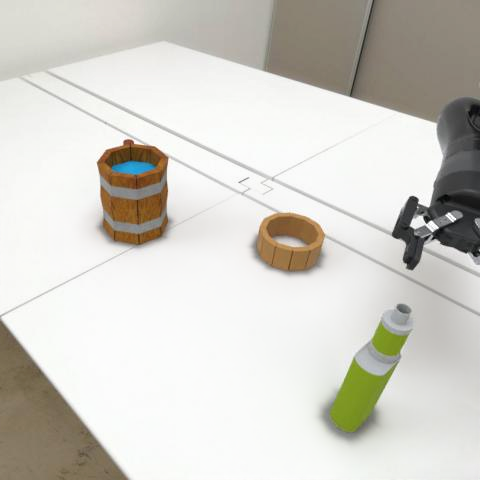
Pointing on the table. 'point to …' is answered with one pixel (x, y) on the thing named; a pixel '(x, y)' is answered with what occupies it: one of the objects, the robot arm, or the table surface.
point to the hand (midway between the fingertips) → (451, 281)
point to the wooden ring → (288, 255)
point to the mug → (134, 192)
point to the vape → (372, 370)
